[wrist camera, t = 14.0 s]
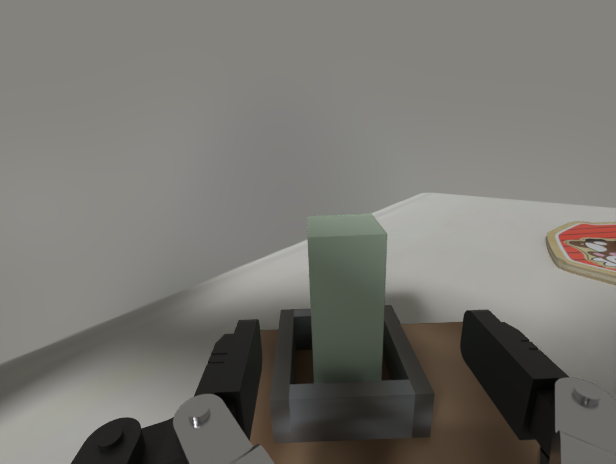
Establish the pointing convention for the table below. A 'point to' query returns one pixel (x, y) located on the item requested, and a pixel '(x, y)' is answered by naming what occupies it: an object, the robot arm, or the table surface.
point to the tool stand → (380, 403)
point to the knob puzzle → (585, 249)
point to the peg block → (347, 296)
